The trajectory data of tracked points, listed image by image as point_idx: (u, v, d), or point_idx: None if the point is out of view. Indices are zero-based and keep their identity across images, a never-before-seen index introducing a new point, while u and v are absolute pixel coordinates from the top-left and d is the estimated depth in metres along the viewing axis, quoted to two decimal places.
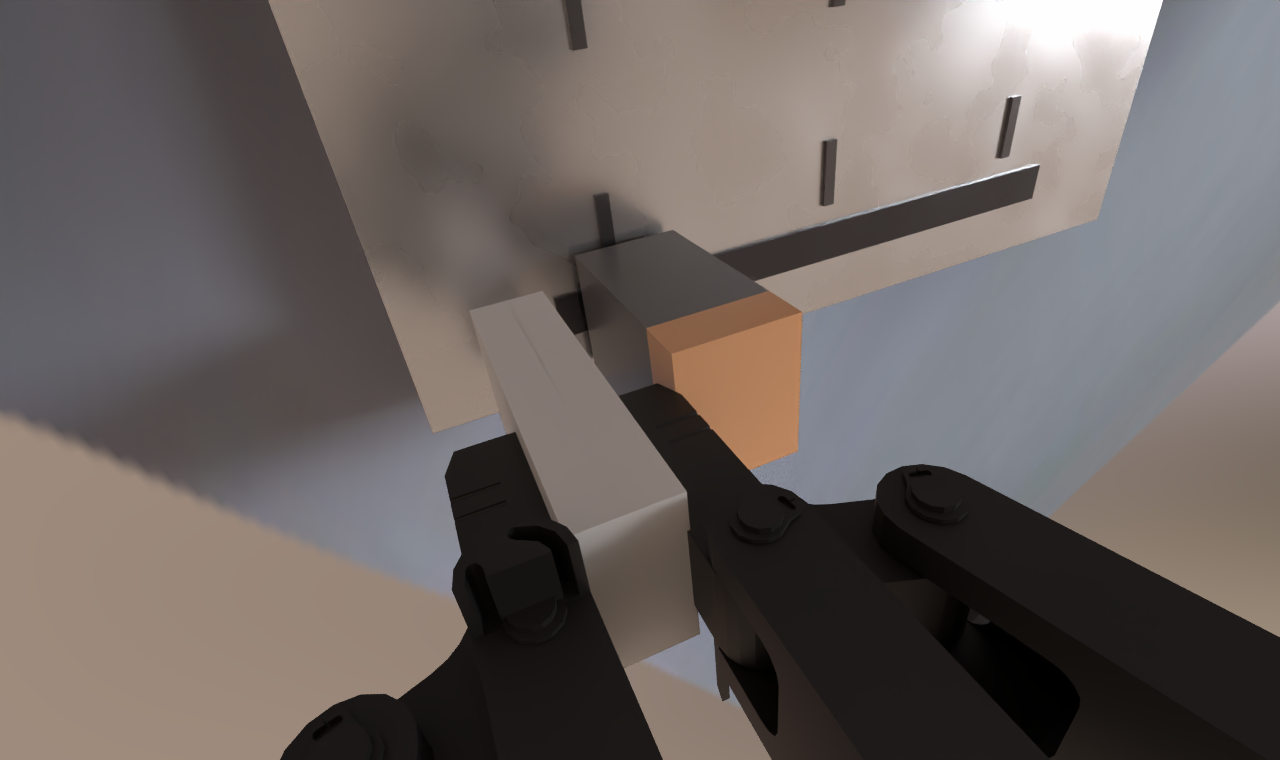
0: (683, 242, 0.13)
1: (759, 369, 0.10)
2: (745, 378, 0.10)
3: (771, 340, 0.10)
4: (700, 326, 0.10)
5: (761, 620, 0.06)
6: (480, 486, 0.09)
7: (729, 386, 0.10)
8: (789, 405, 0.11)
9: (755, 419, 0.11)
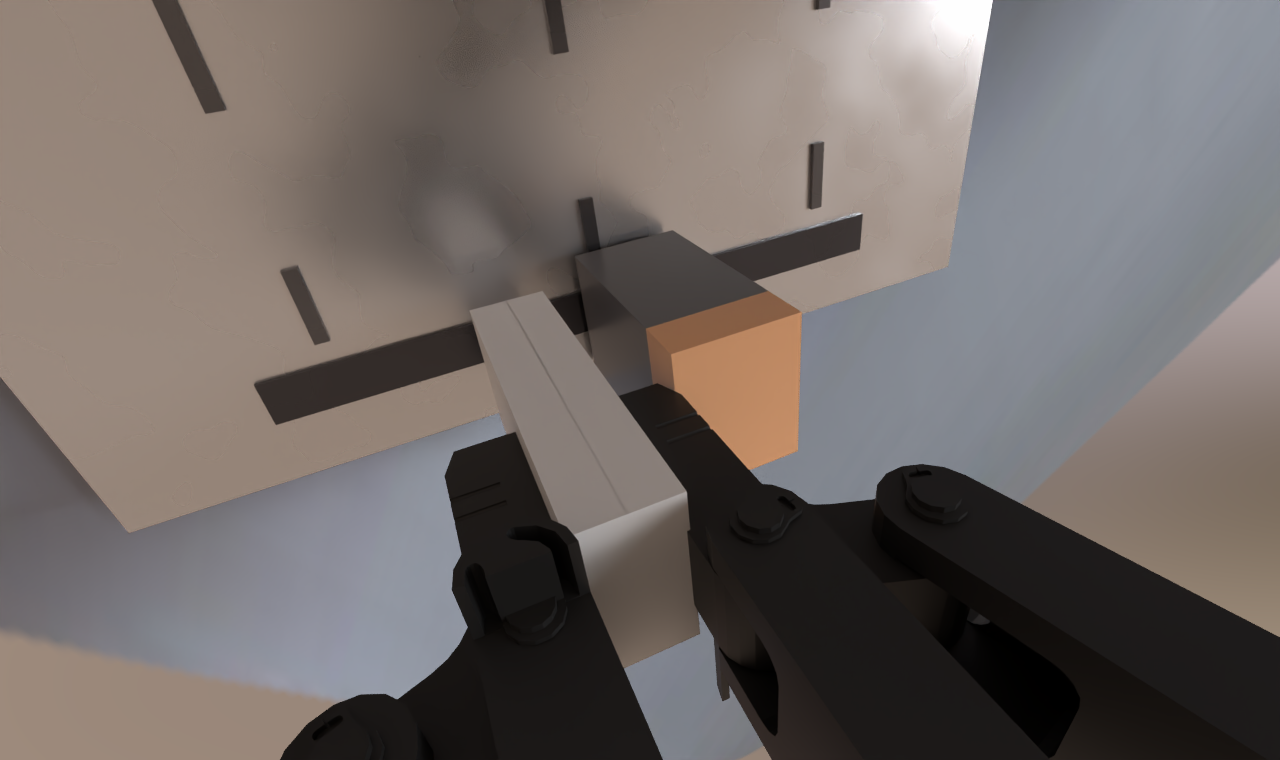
0: (683, 242, 0.13)
1: (759, 369, 0.10)
2: (745, 378, 0.10)
3: (770, 340, 0.10)
4: (700, 326, 0.10)
5: (761, 620, 0.06)
6: (480, 486, 0.09)
7: (729, 386, 0.10)
8: (789, 406, 0.11)
9: (755, 419, 0.11)
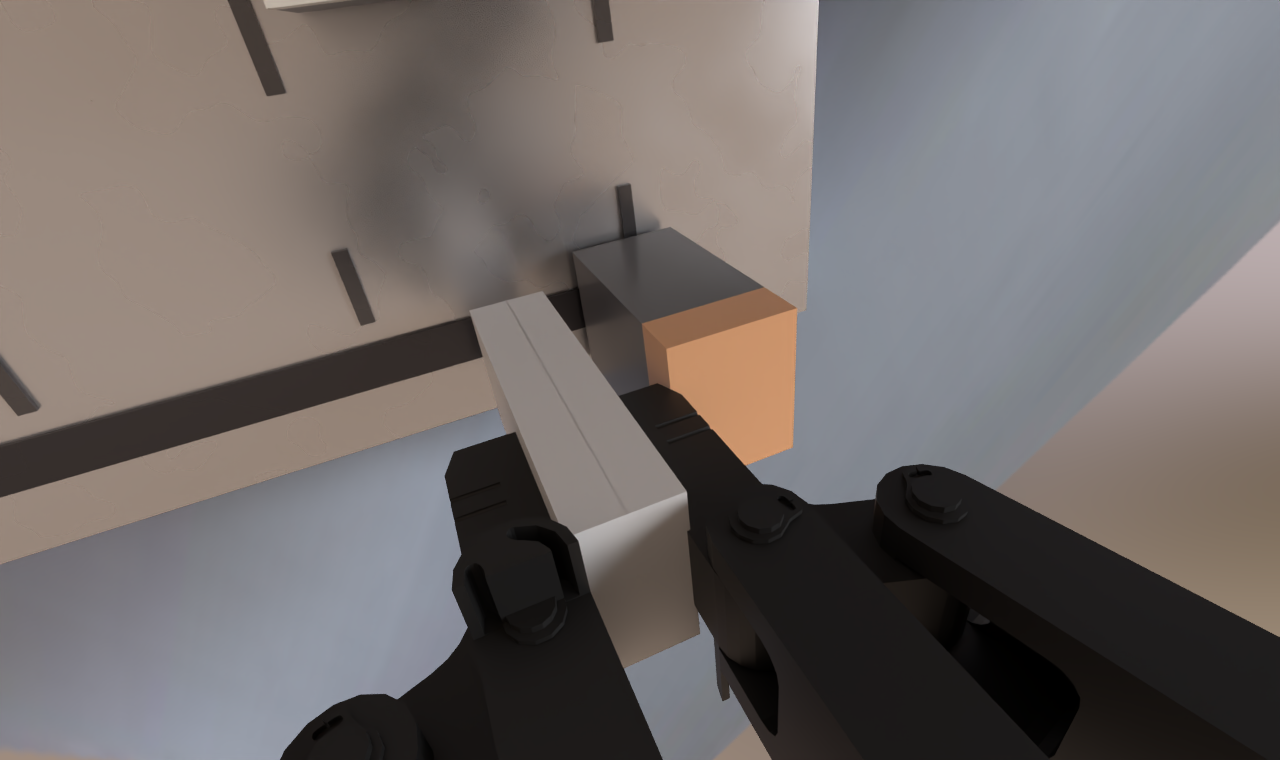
0: (680, 239, 0.13)
1: (754, 365, 0.10)
2: (740, 374, 0.10)
3: (766, 336, 0.10)
4: (695, 322, 0.10)
5: (761, 620, 0.06)
6: (480, 486, 0.09)
7: (725, 381, 0.10)
8: (783, 402, 0.11)
9: (750, 415, 0.11)
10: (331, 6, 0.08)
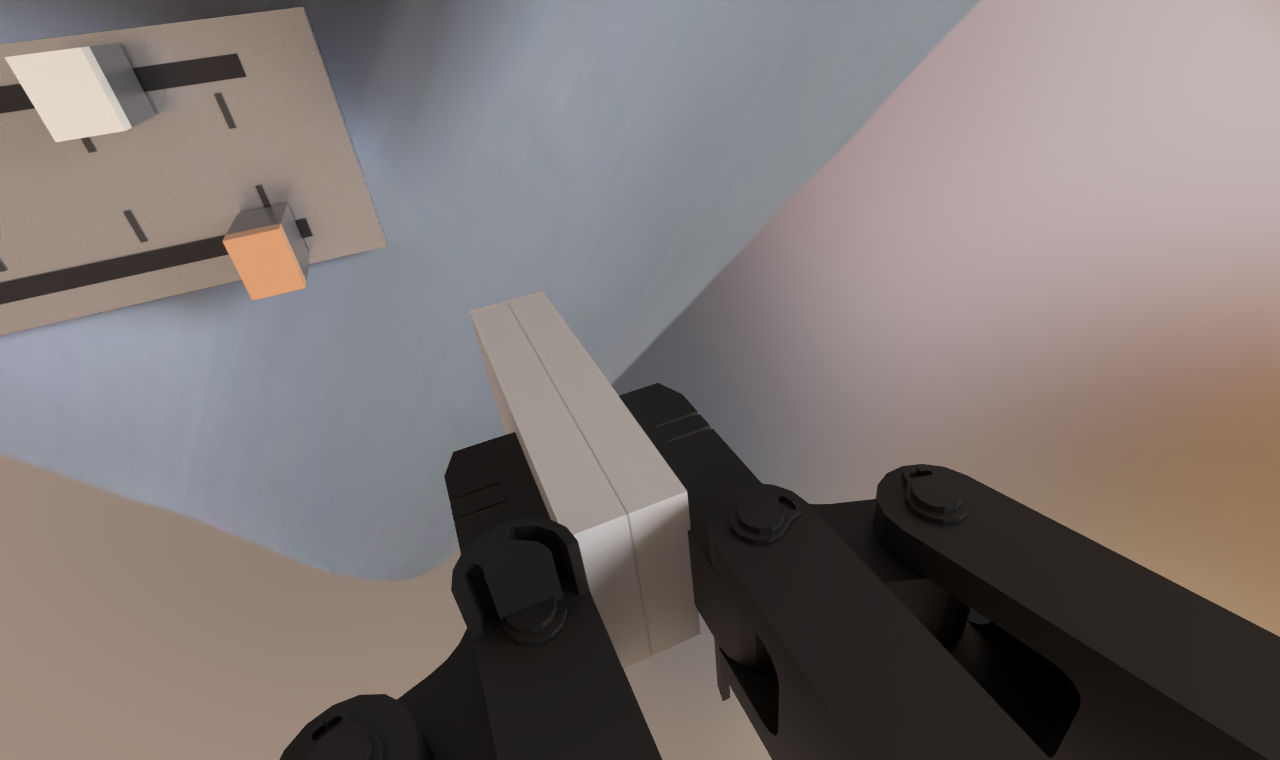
0: (282, 207, 0.32)
1: (267, 250, 0.29)
2: (262, 253, 0.29)
3: (268, 239, 0.28)
4: (242, 233, 0.28)
5: (761, 619, 0.06)
6: (480, 486, 0.09)
7: (255, 256, 0.29)
8: (290, 267, 0.29)
9: (275, 271, 0.29)
10: None
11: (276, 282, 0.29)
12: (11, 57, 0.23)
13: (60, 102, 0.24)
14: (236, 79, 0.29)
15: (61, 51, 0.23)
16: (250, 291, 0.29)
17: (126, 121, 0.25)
